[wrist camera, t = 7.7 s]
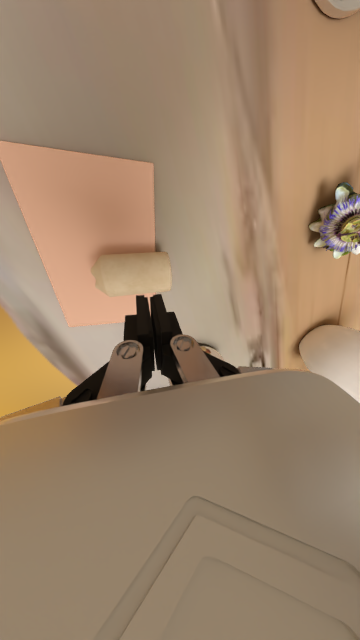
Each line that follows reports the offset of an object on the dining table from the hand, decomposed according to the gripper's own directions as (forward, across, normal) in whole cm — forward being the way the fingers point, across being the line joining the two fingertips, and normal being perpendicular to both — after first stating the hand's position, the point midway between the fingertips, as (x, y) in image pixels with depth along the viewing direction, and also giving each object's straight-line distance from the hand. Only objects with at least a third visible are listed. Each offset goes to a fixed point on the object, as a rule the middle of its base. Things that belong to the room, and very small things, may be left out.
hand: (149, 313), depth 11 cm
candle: (+13, -4, +2) cm, 14 cm away
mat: (+17, +5, +1) cm, 17 cm away
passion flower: (+18, -34, -6) cm, 39 cm away
